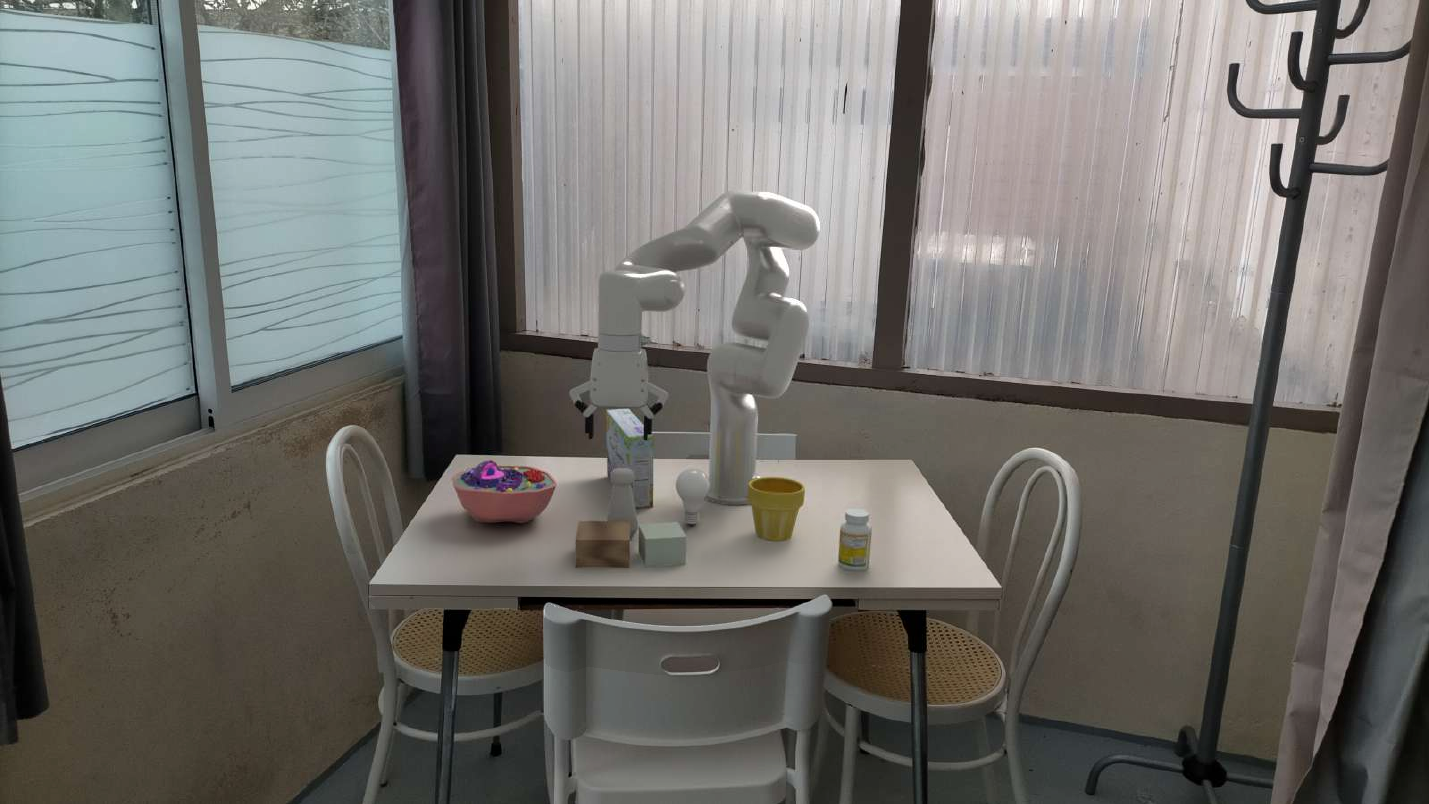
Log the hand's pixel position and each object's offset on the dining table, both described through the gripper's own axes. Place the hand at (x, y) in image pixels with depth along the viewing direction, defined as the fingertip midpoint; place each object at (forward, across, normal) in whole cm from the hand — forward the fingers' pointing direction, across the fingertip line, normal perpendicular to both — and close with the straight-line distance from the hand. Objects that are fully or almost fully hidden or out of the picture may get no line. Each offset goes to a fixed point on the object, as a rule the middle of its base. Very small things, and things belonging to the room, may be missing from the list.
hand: (618, 437), depth 181 cm
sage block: (+19, -8, +9) cm, 22 cm away
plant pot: (+19, -29, -2) cm, 34 cm away
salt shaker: (+19, -1, 0) cm, 19 cm away
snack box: (+19, -1, -26) cm, 32 cm away
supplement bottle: (+19, -41, +11) cm, 47 cm away
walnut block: (+19, +2, +10) cm, 21 cm away
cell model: (+19, +21, -8) cm, 30 cm away
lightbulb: (+19, -14, -7) cm, 24 cm away
